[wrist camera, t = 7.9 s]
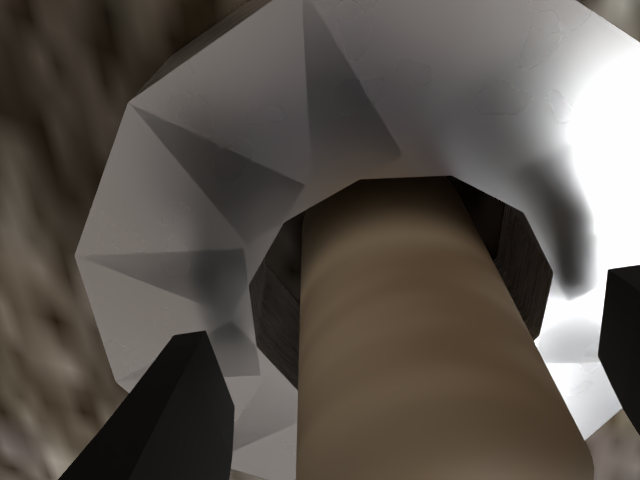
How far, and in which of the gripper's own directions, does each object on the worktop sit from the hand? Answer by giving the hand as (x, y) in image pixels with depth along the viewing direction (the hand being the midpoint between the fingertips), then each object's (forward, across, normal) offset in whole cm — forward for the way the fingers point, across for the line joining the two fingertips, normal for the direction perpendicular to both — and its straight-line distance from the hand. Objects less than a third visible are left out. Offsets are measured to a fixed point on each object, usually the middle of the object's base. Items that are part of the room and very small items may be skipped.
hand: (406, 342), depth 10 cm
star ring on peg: (+4, 0, 0) cm, 4 cm away
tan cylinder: (+4, 0, 0) cm, 4 cm away
